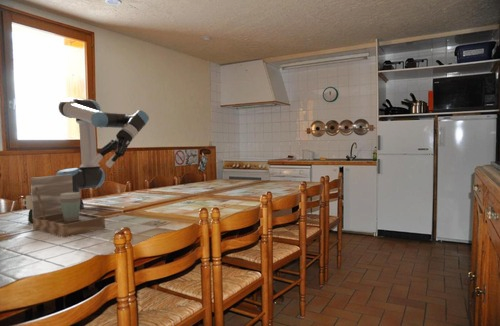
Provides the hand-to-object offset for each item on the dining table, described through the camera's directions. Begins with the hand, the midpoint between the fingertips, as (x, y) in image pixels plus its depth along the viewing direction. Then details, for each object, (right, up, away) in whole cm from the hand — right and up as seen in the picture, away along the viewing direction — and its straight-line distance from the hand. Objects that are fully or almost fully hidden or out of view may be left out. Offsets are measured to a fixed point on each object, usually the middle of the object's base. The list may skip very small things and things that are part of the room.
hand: (99, 165), depth 163 cm
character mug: (-32, -28, +2) cm, 43 cm away
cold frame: (-8, -28, -12) cm, 32 cm away
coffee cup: (-7, -24, -13) cm, 29 cm away
